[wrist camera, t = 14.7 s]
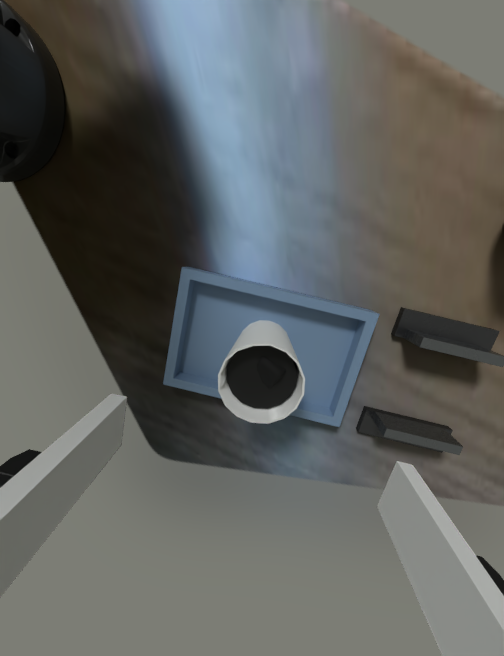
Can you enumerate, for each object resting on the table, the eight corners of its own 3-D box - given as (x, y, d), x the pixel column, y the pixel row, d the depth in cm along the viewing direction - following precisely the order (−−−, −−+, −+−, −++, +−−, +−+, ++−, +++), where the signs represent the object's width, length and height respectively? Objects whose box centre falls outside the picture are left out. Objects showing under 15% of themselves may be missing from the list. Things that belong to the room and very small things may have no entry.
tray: (189, 266, 29) (181, 267, 27) (370, 309, 29) (379, 314, 27) (171, 375, 33) (162, 384, 30) (334, 414, 32) (339, 427, 30)
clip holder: (401, 307, 29) (421, 314, 25) (493, 329, 29) (528, 339, 25) (356, 428, 33) (367, 450, 29) (438, 447, 32) (460, 473, 29)
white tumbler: (256, 303, 29) (249, 324, 20) (306, 338, 30) (323, 375, 20) (222, 351, 31) (201, 393, 21) (271, 384, 31) (271, 438, 22)
